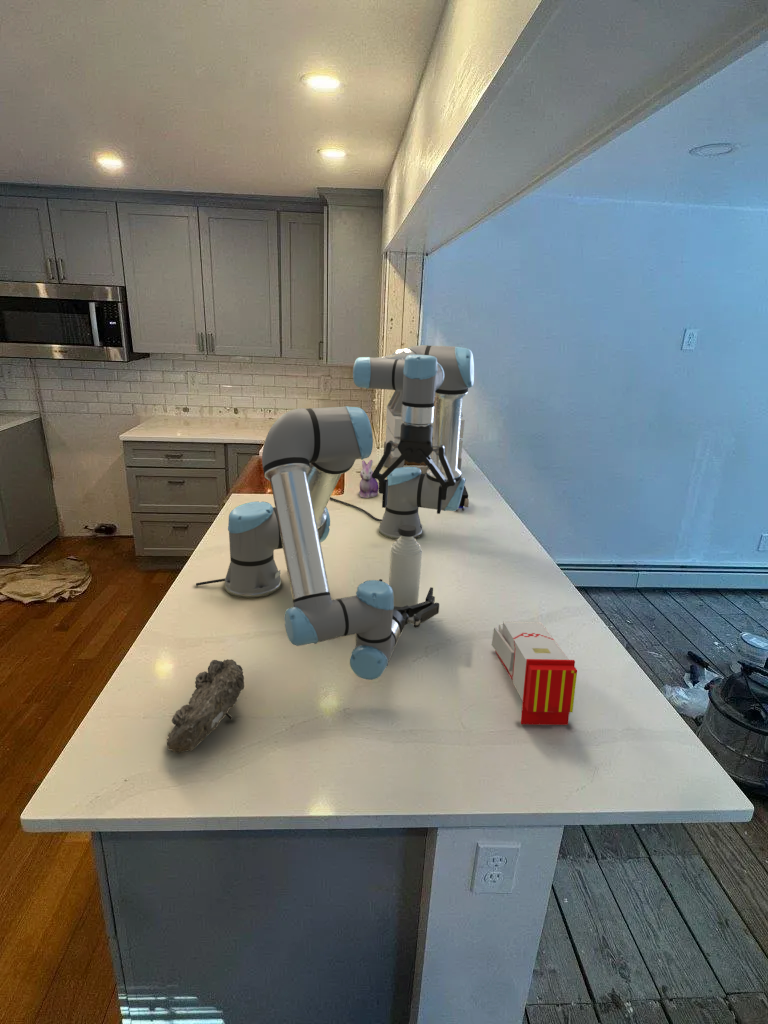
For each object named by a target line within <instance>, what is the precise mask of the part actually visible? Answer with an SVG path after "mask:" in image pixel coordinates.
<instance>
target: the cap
mask: <svg viewBox="0 0 768 1024" xmlns="http://www.w3.org/2000/svg"><path fill="white" fill-rule="evenodd" d="M398 533H399V534H400V535H401V536H405V537H412V536H415V535H416V527H415V526H413V525H401V526H399V532H398Z"/></svg>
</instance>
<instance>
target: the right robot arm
mask: <svg viewBox="0 0 768 1024" xmlns="http://www.w3.org/2000/svg"><path fill="white" fill-rule="evenodd" d="M352 378H353V379H352V380H353V383H354V385H355V387H358V388H362V389H363V388H364V389H366V390H368V389H371V390H372V389H375V390H386V391H387V390H389V391H395V390H398V391H403V399H402V413H401V421H402V422H404V423H402V424H401V432H400V442H399V443H395V442H393V441H391V440H390V441H389V442H388V443H387V444H386V450H385V453H384V452H383V455H382V456H381V458H380V460H379V461H378V463H377V464H376V467H375V469H374V470H373V474H372V478H375V479H376V480H377V482H378V487H379V489H378V494H382V496H381V497H382V499H381V503H382V504H381V508H383V509H384V513H383V515H382V519H381V518H377V517H375V516H373V515H372V514H371V513H370V512H369V511H367V510H365V509H363V508H361V507H359V506H356V505H354V504H352V503H348V502H346V501H343V500H339V499H337V498H334V497H332V496H331V497H330V499H329V500H330V501H331V500H332V501H335V502H338V503H340V504H343V505H346V506H349V507H352V508H355V509H357V510H359V511H362V513H365V514H367V515H368V516H369V517H370V518H372V519H373V520H375V521H378V522H379V526H378V533H379V534H380V535H381V536H382V537H385V538H387V539H389V540H395V541H397V539H399V537H401V535H400V534H399V533H398V532H399V526H401V525H413V526H415V527H416V535H415V536H413V537H414V538H415V539H418V538H420V537H421V536H422V535H423V523H422V522H421V518H420V515H419V508H422V509H428V510H429V509H430V510H436V514H437V515H438V514H439V515H440V514H441V512H442V511H443V512H446V511H447V512H457V511H458V509H460V508H459V505H460V501H461V497H462V493H463V489H464V486H466V485H465V484H466V478H465V477H462V470H461V471H460V470H459V469H458V468H457V464H458V451H459V438H460V425H461V418H462V417H461V412H462V413H463V411H462V409H463V399H464V397H465V396H466V395H467V394H468V393H469V389H470V388H472V387H473V386H474V383H475V361H474V355H473V352H472V350H471V349H469V348H467V347H461V346H453V345H451V346H450V345H429V344H421V345H420V344H419V345H413V346H408V347H404V348H400V349H397V350H395V351H394V352H393V353H392V354H388V355H384V356H379V357H370V356H359V357H357V358H356V359H355V361H354V364H353V367H352ZM434 400H435V413H434ZM433 418H434V430H433V426H432V425H431V424H432V423H433ZM432 431H433V445H432ZM460 439H461V438H460ZM395 448H398V450H399V452H400V453H401V455H400V456H399V458H398V459H397V460H396V461H395V462H394V463H393V464H392V465H391V466H390V467H387V468H386V469H385V470H384V471H383V472H382V473H380V472H381V471H382V469H383V467H384V464H385V462H386V460H387V459H388V457H389V455H390V453H391V451H394V450H395ZM431 453H432V459H431V457H430V456H429V455H430V454H431ZM404 459H405V460H406V461H407V462H409V463H411V462H415V463H422V462H424V463H425V465H426V466H425V467H427V470H426V473H422V469H421V468H420V467H417V466H404V467H401V468H396V467H397V466H398V465H399V464H400V463H401V462H402V461H403V460H404ZM395 468H396V469H395ZM456 510H457V511H456Z"/></svg>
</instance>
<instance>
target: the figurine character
mask: <svg viewBox="0 0 768 1024" xmlns="http://www.w3.org/2000/svg"><path fill="white" fill-rule="evenodd" d="M469 505H470V500H469V492H468V490H467V488H466V485H464V489H463V493H462V497H461V501H460V505H459V508H458V509H461V511H462V512H464V511H465V508H469ZM458 509H457V510H456V511H455V512H457V511H458Z"/></svg>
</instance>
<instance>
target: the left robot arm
mask: <svg viewBox="0 0 768 1024" xmlns="http://www.w3.org/2000/svg"><path fill="white" fill-rule="evenodd" d="M373 446H374V437H373V429H372V425H371V421H370V418H369V416H368V414H367V413H366V411H365V410H364V409H363V408H361V407H359V406H349V405H345V406H331V407H312V408H311V407H309V408H308V407H307V408H305V407H304V408H303V407H299V408H294V409H291V410H288V411H286V412H285V413H283V414H282V415H280V416H279V417H278V419H276V420H275V422H274V423H273V424H272V425H271V427H270V428H269V431H268V433H267V435H266V437H265V440H264V443H263V447H262V454H261V455H262V456H261V464H262V470H263V476H264V478H265V479H266V480H268V481H269V482H270V487H271V491H272V497H273V503H274V506H273V505H272V503H270V502H268V501H259V500H258V501H250V502H246V503H242V504H241V505H238V506H236V507H234V508H233V509H232V510H231V511H230V512H229V515H228V526H227V530H228V540H229V541H228V542H229V556H230V558H229V561H230V562H229V565H228V568H227V572H226V575H225V578H219V579H218V578H217V579H212V580H207V581H199V582H196V583H195V586H196V587H197V586H203V585H209V584H215V583H221V582H224V589H225V592H227V593H228V594H230V595H232V596H233V597H236V598H243V599H257V598H262V597H266V596H270V595H272V594H274V593H276V592H277V591H278V590H279V589H280V588H281V586H282V578H281V569H278V566H277V564H276V562H275V558H274V557H275V555H274V554H275V553H274V551H275V550H283V555H284V560H285V566H286V572H287V577H288V581H289V587H290V594H291V599H292V604H293V605H292V607H289V608H286V610H285V612H284V619H283V620H284V628H285V633H286V636H287V639H288V640H289V642H290V644H292V645H293V646H296V647H300V646H306V645H311V644H314V645H316V644H318V643H322V642H325V641H330V640H333V639H339V638H343V637H348V636H352V635H355V645H354V646H355V647H354V649H353V650H352V651H351V654H350V658H349V665H350V666H349V667H350V669H351V671H352V672H353V673H354V674H355V675H356V677H358V678H360V679H362V680H368V681H372V680H376V679H378V678H380V677H381V676H382V675H383V673H384V672H385V670H386V668H387V667H388V666H389V662H390V660H391V657H392V655H393V652H394V650H395V648H396V645H398V641H399V639H400V637H401V635H402V632H403V630H404V628H405V626H406V625H407V624H412V625H413V627H414V628H416V629H417V628H419V627H420V626H421V624H423V623H425V622H426V621H428V620H430V619H432V618H433V617H434V616H437V615H438V614H439V613H440V603H439V602H435V599H436V596H434V587H432V586H431V587H429V589H428V591H427V594H426V597H425V601H422V602H418V604H416V605H412V606H408V605H407V606H404V607H396V606H394V596H393V589H392V588H391V587H390V586H389V583H387V582H385V581H383V579H381V578H380V579H378V580H377V579H371V580H365V581H363V582H362V583H360V584H359V585H358V586H357V589H356V592H355V595H352V596H345V597H341V598H336V599H335V598H334V599H332V596H331V591H330V590H331V589H330V585H329V581H328V575H327V570H326V564H325V559H324V555H323V550H322V545H321V543H323V542H324V541H325V540H327V538H328V536H329V534H330V527H331V517H330V512H329V510H328V508H327V505H328V503H329V501H330V500H331V499H330V497H331V498H332V495H333V493H334V491H335V488H336V487H337V485H338V483H339V480H340V478H341V476H342V475H343V474H346V473H347V472H348V471H350V470H351V469H352V468H353V466H354V464H355V462H356V460H361V461H363V460H364V459H369V458H370V456H371V455H372V452H373V448H374V447H373ZM405 611H406V612H405Z"/></svg>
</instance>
